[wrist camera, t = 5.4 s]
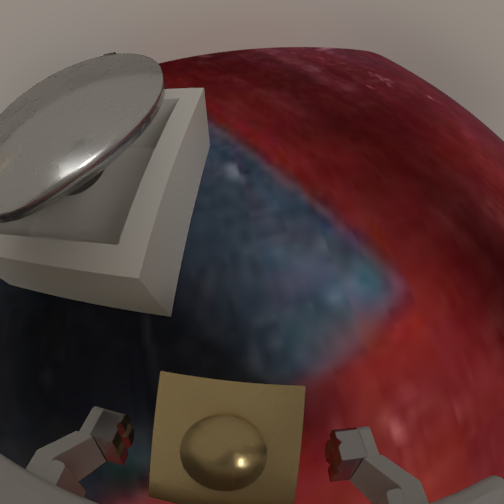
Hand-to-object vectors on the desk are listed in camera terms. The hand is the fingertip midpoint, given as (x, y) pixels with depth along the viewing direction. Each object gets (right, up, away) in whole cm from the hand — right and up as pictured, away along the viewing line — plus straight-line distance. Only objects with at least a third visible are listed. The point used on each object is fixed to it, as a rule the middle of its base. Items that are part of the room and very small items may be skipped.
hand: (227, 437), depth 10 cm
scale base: (-11, +11, +11) cm, 19 cm away
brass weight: (0, -2, +5) cm, 5 cm away
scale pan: (-11, +14, +8) cm, 19 cm away
